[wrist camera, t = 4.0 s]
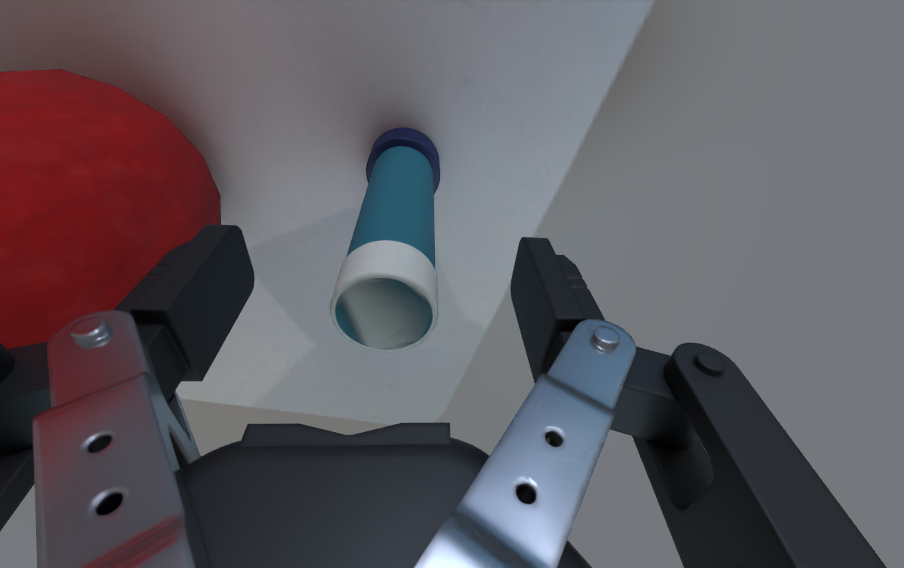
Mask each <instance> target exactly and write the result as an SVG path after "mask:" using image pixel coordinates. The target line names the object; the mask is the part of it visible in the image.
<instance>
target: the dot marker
mask: <svg viewBox="0 0 904 568" xmlns="http://www.w3.org/2000/svg"><path fill="white" fill-rule="evenodd" d="M366 175H367V180H368V183H369V184H368V187H367V191H366V194H365V197H364V201H363V204H362V207H361V210H360V214H359V217H358V220H357V224H356V227H355V230H354V234H353V237H352V240H351V244H350V247H349V250H348V253H347V257H346V259H345V260H344V262H343V264H342V267H341V270H340V273H339V276H338V280H337V283H336V286H335V289H334V293H333V296H332V299H331V303H330V314H331V318H332V320H333V323H334V325H335V326H336V328H337V330H338V331H339V332H340V333H341V334H342V335H343V336H344V337H345V338H347V339H348V340H349V341H351V342H353V343H354V344H356V345H359V346H361V347H364V348H367V349H370V350H375V351H386V352H388V351H399V350H404V349H407V348H411V347H413V346H415V345H417V344H419V343H421V342H422V341H423V340H425V339H426V338H427V337H428V336H429V335H430V333H431V332H432V331H433V329H434V327H435V325H436V323H437V319H438V290H437V275H436V271H435V237H434V193H435V192H436V190H437V188H438V185H439V181H440V164H439V156H438V152H437V150H436V148H435V146H434V144H433V143H432V142H431V140H430V139H429V138H428V137H427V136H425V135H424V134H422V133H421V132H419V131H416V130H414V129H410V128H395V129H392V130H389V131H387V132H385V133H384V134H382V135H381V136H380V137H379V138H378V139H377V140H376V142H375V143H374V145H373V147H372V150H371V153H370V156H369V159H368V162H367V167H366Z"/></svg>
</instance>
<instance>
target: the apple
mask: <svg viewBox="0 0 904 568" xmlns="http://www.w3.org/2000/svg"><path fill="white" fill-rule="evenodd" d="M208 224H210V225H221V209H220V195H219V192H218V190H217V187H216V185H215V183H214V180H213V178H212V176H211V173H210V171H209V169H208V166H207V164H206V162H205V159H204V157H203V156H202V155H201V154H200V153H199V152H198V150H197V149H196V148H195V147H194V146H193V145H192V144H191V143H190V142H189V140H188V139H187V138H186V137H185V136H184V135H183V134H182V133H181V132H180V130H179V129H178V128H177V127H176V126H175V125H174V124H173V123H172V121H171V120H170V119H169V118H168V117H166V116H165V115H163V114H161V113H160V112H158V111H156V110H154V109H153V108H151V107H149V106H148V105H146V104H144V103H143V102H141V101H139V100H138V99H136V98H134V97H132V96H131V95H129V94H127V93H126V92H124V91H122V90H121V89H119V88H117V87H115V86H112V85H109V84H106V83H102V82H99V81H96V80H93V79H90V78H87V77H83V76H80V75H77V74H74V73H71V72H67V71H64V70H61V69H54V70H33V71H12V72H0V342H1V343H2V344H3V345H4V346H5V347H6V348H7V349H10V348H15V347H21V346H26V345H32V344H37V343H42V342H48V341H49V339H50V338H51V336H52V335H53V334H54V333H55V332H56V331H57V330H58V329H60V328H61V327H62V326H64V325H65V324H67V323H69V322H70V321H72V320H74V319H77V318H79V317H81V316H84V315H87V314H90V313H94V312H98V311H104V310H113V309H114V308H115V307H116V306H117V305H118V304H119V303H120V302H121V301H122V300H123V299H124V298H125V297H126V296H127V294H128V293H129V292H130V291H131V290H132V289H133V288H134V287H135V286H136V285H137V284H138V283H139V282H140V281H141V280H142V279H143V278H144V277H145V276H147V273H148V272H149V271H150V270H151V269H152V268H153V267H154V266H157V263H158V262H159V261H160V260H161V259H162V258H163V257H164V256H165V255H166V254H167V253H168V252H169V251H170V250H172V249H174V248H176V247H177V246H179V245H181V244H183V243H185V242H186V241H188V242H190V241H191V240H192V239H193V238H194V237H195V236H196V234H197V233H198V232H199V231H200V230H201V229H202V228H203V227H204V226H205V225H208Z"/></svg>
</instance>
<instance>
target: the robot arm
mask: <svg viewBox="0 0 904 568" xmlns="http://www.w3.org/2000/svg"><path fill="white" fill-rule="evenodd" d="M253 287H254V271H253V267H252V264H251V261H250V257H249V254H248V250H247V247H246V244H245V240H244V237H243V234H242V231H241V229H240V228H239V227H238V226H235V225H210V224H208V225H205V226H204V227H203V228H202V229H201V230H200V231H199V232H198V233H197V234H196V236H195V237H194V238H193V239H192V240H191V241H190V242H188V241H186V242H185V243H183V244H181V245H179V246H177V247H176V248H174V249H172V250H170V251H169V252H168V253H167V254H166V255H165V256H164V257H163V258H162V259H161V260H160V261H159V262H158V263H157V266H154V267H153V268H152V269H151V270H150V271H149V272H148V273H147V276H145V277H144V278H143V279H142V280H141V281H140V282H139V283H138V284H137V285H136V286H135V287H134V288H133V289H132V290H131V291H130V292H129V293H128V294H127V296H126V297H125V298H124V299H123V300H122V301H121V302H120V303H119V304H118V305H117V306H116V307H115V308H114V309H113V310H104V311H98V312H94V313H90V314H87V315H84V316H81V317H79V318H77V319H74V320H72V321H70V322H69V323H67V324H65V325H64V326H62V327H61V328H60V329H58V330H57V331H56V332H55V333H54V334H53V335H52V336H51V338H50V339H49V341H48V342H42V343H37V344H32V345H26V346H21V347H15V348H10V349H7V348H6V347H5V346H4V345H3V344H2V343H1V342H0V531H1V529H2V528H3V527H4V525H5V524H6V523H7V521H8V520H9V518H10V517H11V516H12V514H13V513H14V511H15V510H16V508H17V507H18V506H19V504H20V503H21V502H22V500H23V499H24V497H25V496H26V495H27V493H28V492H29V490H30V489H31V488H32V486H33V485H34V483H35V510H36V537H37V568H592V567H591V566H590V565H589V564H588V563H587V561H586V560H585V559H584V558H583V557H582V556H581V555H580V554H579V552H578V551H577V550H576V549H575V548H574V547H573V546H572V545H571V543H570V542H569V541H568V540H567V539H568V536H569V534H570V531H571V529H572V526H573V523H574V521H575V518H576V516H577V513H578V510H579V507H580V505H581V503H582V500H583V497H584V495H585V492H586V490H587V487H588V484H589V482H590V479H591V476H592V474H593V471H594V468H595V466H596V463H597V461H598V458H599V455H600V453H601V450H602V448H603V445H604V443H605V440H606V437H607V434H608V432H609V429H611V430H614V431H618V432H621V433H624V434H628V435H631V436H632V437H633V439H634V442H635V444H636V447H637V449H638V452H639V455H640V457H641V460H642V462H643V465H644V467H645V470H646V472H647V475H648V477H649V480H650V482H651V485H652V487H653V490H654V493H655V495H656V498H657V500H658V503H659V505H660V508H661V510H662V513H663V515H664V518H665V520H666V523H667V526H668V528H669V531H670V533H671V535H672V538H673V540H674V543H675V546H676V548H677V551H678V553H679V556H680V558H681V561H682V563H683V566H684V568H886V566H885V565H884V563H883V562H882V561H881V559H880V558H879V557H878V555H877V554H876V553H875V551H874V550H873V549H872V547H871V546H870V545H869V543H868V542H867V540H866V539H865V538H864V537H863V535H862V534H861V532H860V531H859V530H858V528H857V527H856V526H855V524H854V523H853V522H852V520H851V519H850V518H849V517H848V515H847V514H846V512H845V511H844V510H843V508H842V507H841V505H840V504H839V503H838V502H837V500H836V499H835V497H834V496H833V495H832V493H831V492H830V491H829V489H828V488H827V487H826V485H825V484H824V483H823V481H822V480H821V479H820V477H819V476H818V474H817V473H816V472H815V470H814V469H813V468H812V466H811V465H810V464H809V462H808V461H807V460H806V458H805V457H804V456H803V454H802V453H801V452H800V450H799V449H798V448H797V446H796V445H795V444H794V442H793V441H792V439H791V438H790V437H789V435H788V434H787V433H786V431H785V430H784V429H783V427H782V426H781V425H780V423H779V422H778V421H777V419H776V418H775V417H774V415H773V414H772V412H771V411H770V410H769V408H768V407H767V406H766V404H765V403H764V402H763V400H762V399H761V398H760V396H759V395H758V394H757V392H756V391H755V390H754V388H753V387H752V386H751V384H750V383H749V381H748V380H747V379H746V377H745V376H744V375H743V374H742V372H741V371H740V369H739V368H738V367H737V366H736V365H735V363H734V362H733V361H731V360H730V359H729V358H728V357H727V356H725V355H724V354H722V353H721V352H719V351H717V350H715V349H713V348H711V347H709V346H705V345H702V344H698V343H685V344H681V345H679V346H678V347H677V348H676V349H675V350H674V352H673V354H672V355H671V356H670V355H665V354H662V353H657V352H654V351H650V350H646V349H642V348H639V347H636V345H635V342H634V340H633V339H632V337H631V336H630V335H629V334H628V333H627V332H626V331H625V330H623V329H622V328H621V327H619V326H617V325H615V324H613V323H611V322H608V321H605V319H604V317H603V315H602V313H601V311H600V309H599V308H598V306H597V304H596V302H595V300H594V298H593V296H592V295H591V293H590V291H589V289H587V285H586V283H585V282H584V280H583V279H582V276H581V274H580V272H579V270H578V268H577V267H576V265H575V264H573V263H572V262H571V261H570V260H569V259H568V258H567V257H565V256H564V255H556V254H555V252H554V250H553V248H552V246H551V244H550V241H549V240H548V239H547V238H531V237H522V238H521V240H520V242H519V246H518V251H517V256H516V260H515V265H514V270H513V274H512V279H511V298H512V302H513V306H514V310H515V313H516V317H517V321H518V324H519V328H520V331H521V335H522V339H523V342H524V346H525V349H526V353H527V357H528V361H529V364H530V368H531V372H532V375H533V379H534V382H535V385H534V387H533V389H532V390H531V391H530V393H529V395H528V396H527V398H526V399H525V401H524V403H523V404H522V406H521V407H520V409H519V410H518V412H517V414H516V415H515V417H514V418H513V420H512V421H511V423H510V425H509V426H508V428H507V430H506V431H505V433H504V434H503V436H502V437H501V439H500V440H499V442H498V444H497V445H496V447H495V449H494V450H493V452H492V453H491V455H490V456H489V455H487V454H486V453H485V452H483V451H482V450H480V449H478V448H476V447H475V446H473V445H471V444H469V443H466V442H463V441H461V440H458V439H454V438H450V423H400V424H395V425H391V426H387V427H383V428H379V429H375V430H371V431H367V432H362V433H359V434H354V435H344V434H340V433H335V432H331V431H327V430H323V429H319V428H315V427H311V426H306V425H303V424H248V425H247V427H246V430H245V432H244V435H243V437H242V440H241V441H238V442H234V443H231V444H228V445H225V446H223V447H220V448H218V449H216V450H213V451H211V452H209V453H207V454H205V455H204V456H202V457H201V456H200V453H199V451H198V448H197V446H196V443H195V440H194V437H193V434H192V432H191V429H190V426H189V423H188V420H187V418H186V415H185V412H184V409H183V407H182V404H181V401H180V398H179V396H178V394H177V393H176V391H175V390H176V388H177V387H178V385H179V383H180V382H181V381H202V380H203V379H204V377H205V375H206V373H207V371H208V370H209V368H210V366H211V364H212V362H213V361H214V359H215V357H216V355H217V354H218V352H219V350H220V348H221V346H222V345H223V343H224V341H225V339H226V337H227V336H228V334H229V332H230V330H231V328H232V327H233V325H234V323H235V321H236V320H237V318H238V316H239V314H240V312H241V311H242V309H243V307H244V305H245V303H246V302H247V300H248V298H249V296H250V295H251V293H252V290H253ZM698 437H699V438H698ZM699 439H700V440H699ZM700 441H701V442H700ZM701 443H702V444H701ZM702 445H703V446H702ZM704 448H705V449H704ZM705 450H706V451H705ZM706 452H707V453H706ZM707 454H708V455H707ZM708 456H709V457H708ZM709 458H710V459H709Z"/></svg>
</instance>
